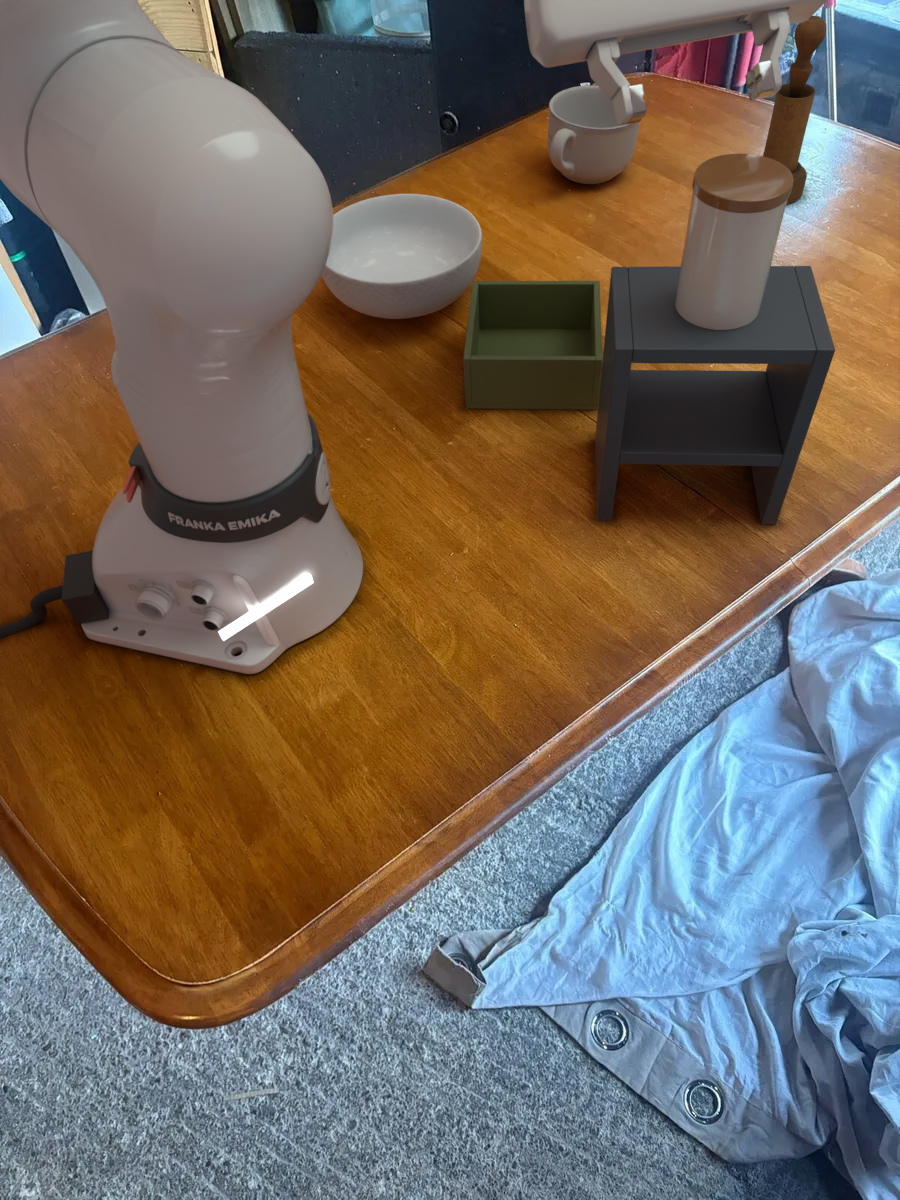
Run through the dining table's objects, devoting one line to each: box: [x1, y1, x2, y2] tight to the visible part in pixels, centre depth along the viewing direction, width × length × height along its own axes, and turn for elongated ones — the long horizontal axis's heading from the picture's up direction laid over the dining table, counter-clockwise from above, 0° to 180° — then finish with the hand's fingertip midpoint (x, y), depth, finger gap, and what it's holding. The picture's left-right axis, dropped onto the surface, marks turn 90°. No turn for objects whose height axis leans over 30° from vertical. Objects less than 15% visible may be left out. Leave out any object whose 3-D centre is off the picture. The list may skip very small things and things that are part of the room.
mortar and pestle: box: [762, 15, 827, 205], centre depth 97 cm, size 7×6×18 cm
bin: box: [462, 280, 603, 411], centre depth 84 cm, size 12×12×6 cm
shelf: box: [594, 265, 836, 525], centre depth 69 cm, size 14×10×17 cm
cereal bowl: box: [321, 193, 483, 320], centre depth 92 cm, size 17×17×7 cm
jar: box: [675, 153, 793, 330], centre depth 59 cm, size 6×6×9 cm
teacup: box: [547, 84, 641, 185], centre depth 105 cm, size 14×11×8 cm
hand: (700, 107), depth 58 cm, fingers open, 8 cm apart
